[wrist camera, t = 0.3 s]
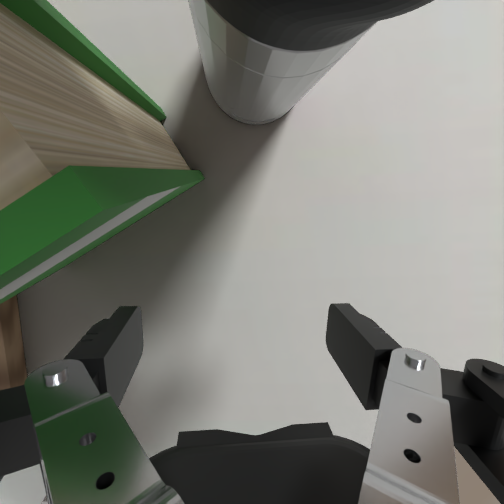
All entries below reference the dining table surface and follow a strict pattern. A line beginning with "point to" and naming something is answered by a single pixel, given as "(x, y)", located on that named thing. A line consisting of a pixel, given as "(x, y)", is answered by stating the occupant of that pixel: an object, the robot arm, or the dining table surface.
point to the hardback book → (71, 147)
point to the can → (23, 487)
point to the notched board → (11, 346)
